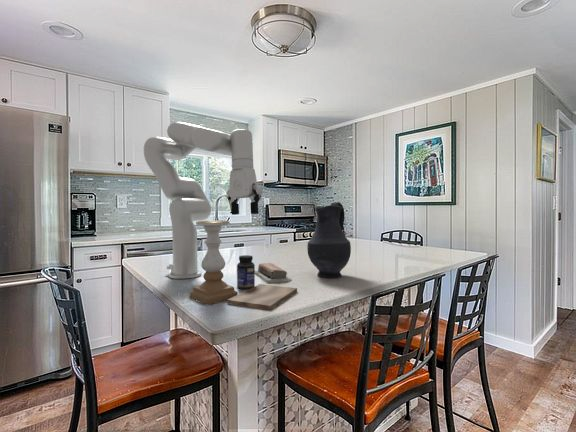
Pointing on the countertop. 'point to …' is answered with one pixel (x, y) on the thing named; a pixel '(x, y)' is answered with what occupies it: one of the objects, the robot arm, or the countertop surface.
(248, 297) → the walnut board
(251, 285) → the pill bottle
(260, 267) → the butter dish
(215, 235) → the candle holder
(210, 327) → the countertop surface
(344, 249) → the pitcher
